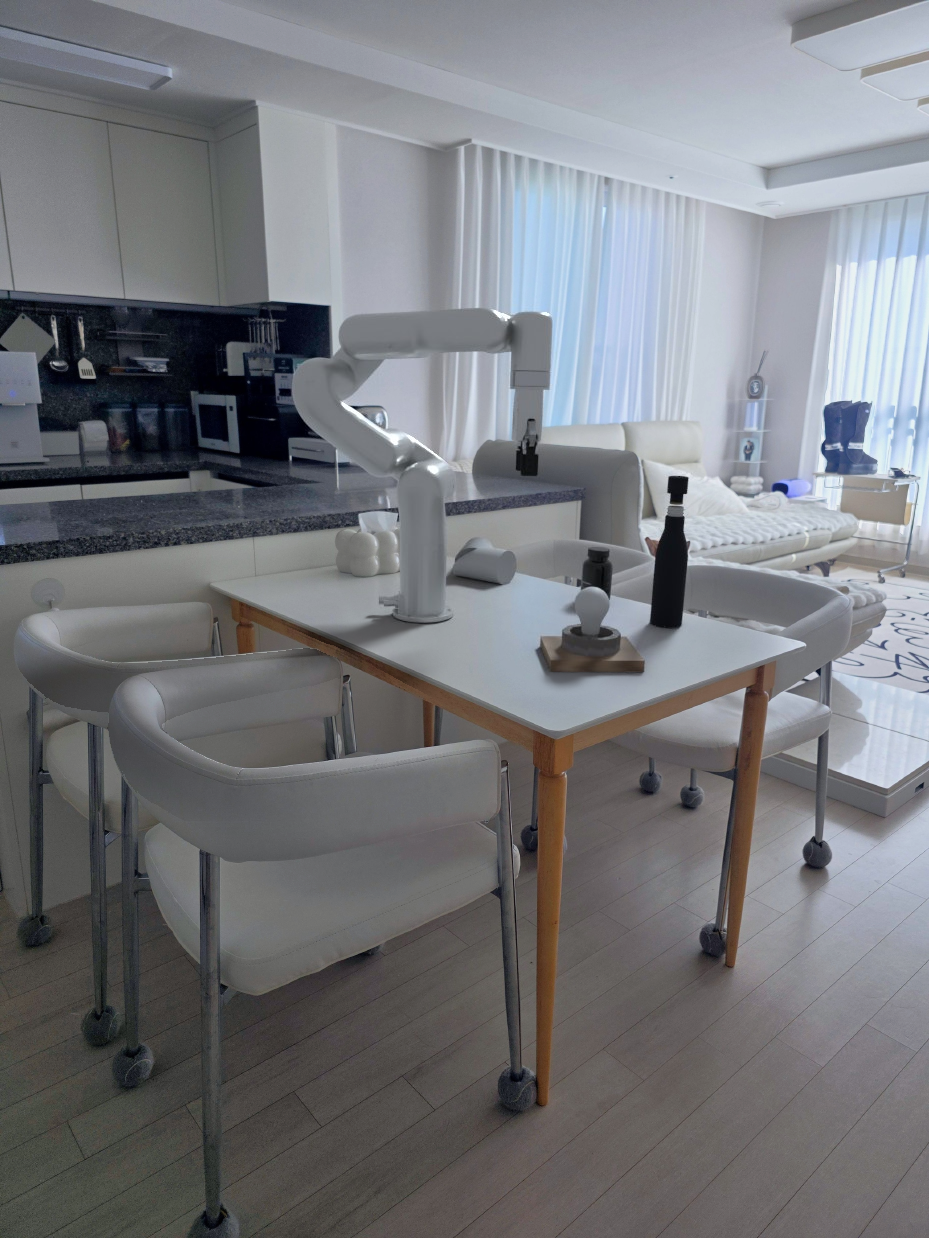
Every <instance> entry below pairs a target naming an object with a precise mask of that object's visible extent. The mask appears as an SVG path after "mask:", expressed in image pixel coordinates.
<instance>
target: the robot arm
mask: <svg viewBox="0 0 929 1238" xmlns="http://www.w3.org/2000/svg"><path fill="white" fill-rule="evenodd" d="M552 341H553V317H552V316H551V314H549V313H547V312H544V311H533V310H532V311H530V310H529V311H520V312H517V313H515V314H509V313H508V314H507V313H502V312H499V311H497V310H496V309H494V308H489V307H469V308H451V309H450V308H447V309H437V310H419V311H418V310H416V311H413V310H412V311H399V312H397V311H395V312H376V313H375V312H374V313H359V314H354V315H351V316H348V317H347V318H345V319H344V320H343V322H342V323H341V325H340V327H339V330H338V342H339V345H340V347H339V349H338V350H337V351H336V352H335V353H334V354H333V355H332V357H331V358H327V357H313V358H309V359H307V360H305V361H303V362H302V363H300V365H298V367H297V368H296V369H295V371H294V374H293V377H292V381H291V382H292V384H291V391H292V400H293V403H294V406H295V409H296V411H297V413H298V414H299V416H300V417H301V419H302V420H303V422H304V423H305V424H306V425H307V426H308V427H309V428H310V429H311V430H312V431H313V432H315V433H316V434H317V435H319V436H320V437H321V438H322V439H324V440H325V441H326V442H328V443H329V444H330V445H331V446H333V447H335V448H336V449H337V450H338V451H339V452H340V453H342V454H343V455H344V456H346V457H347V458H348V459H349V460H351V461H353V462H354V463H356V465H358V466H359V467H360V468H362V469H363V470H364V471H365V472H367V473H368V474H370V475H371V476H373V477H375V478H387V477H391V478H393V479H394V480H395V481H397V485H396V500H397V509H398V517H399V591H398V594H395V593H394V594H393V595H378V605H380V606H383V607H394V608H393V609H392V616H393V617H394V618H395V619H398V620H401V621H403V622H410V623H421V624H422V623H427V624H428V623H438V622H443V621H447V620H449V619H450V618H453V615H454V609H453V608H452V607H450V606H448V605H447V544H448V543H447V515H446V502H447V501H448V500H449V499H450V498H451V497H452V496H453V494H454V493H455V491H456V488H457V476H456V474H455V471H454V470H453V468H452V467H451V465H450V464H448V462H446V461H445V459H443V458H441V456H439V455H438V454H436V453H434V452H433V451H432V450H430V449H429V448H428V447H427V446H426V445H424V444H422V443H421V442H420V441H419V440H417V439H416V438H414V437H413V436H411V435H410V434H408V433H407V432H405V431H403V430H401V429H397V428H382V427H380V426H379V425H377V424H375V422H372V421H371V420H370V419H369V418H367V417H366V416H364V415H363V414H362V413H361V412H359V411H358V410H356V409H355V408H353V407H352V406H350V405H348V404H347V403H345V402H344V401H346V400H347V399H349V398H350V397H351V396H354V394H355V393H356V392H357V391H358V390H359V389H360V388H361V386H363V384H365V382H366V381H367V380H369V378H370V377H371V376H372V375H373V374H374V372H375V371H377V369H379V367H380V366H381V365H382V364H383V362H384V361H385V360H399V359H400V360H401V359H423V358H424V359H425V358H427V357H430V356H432V355H436V354H447V353H465V352H466V353H467V352H468V353H469V352H472V353H473V352H481V353H482V352H483V353H487V354H492V355H493V354H502V353H510V373H509V376H510V377H509V389H510V390H514V394H513V395H514V397H513V406H512V407H513V408H512V409H513V410H512V424H511V427H512V429H511V440H512V442H514V443H515V444H517V445H516V446H517V447H516V450H515V451H516V453H515V470H516V471H517V472H518V471H519V472H520V476H522V477H537V476H538V474H539V443H540V442H541V440H542V439H541V438H542V432H543V431H542V430H543V416H544V414H543V412H544V390H545V391H548V390H550V389H551V388H550V384H551V369H552V368H551V366H552V365H551V364H552V363H551V361H552Z"/></svg>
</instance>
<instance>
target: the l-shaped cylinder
mask: <svg viewBox="0 0 929 1238" xmlns="http://www.w3.org/2000/svg"><path fill="white" fill-rule="evenodd" d="M516 571H517V557H516V555H515V553H514V552H513V551H511V550H510V549H508V550H507V549H502V548H495V547H494V546H493V544H492V542H490V541H489V539H487V538H485V537H480V536H475V537H472V538H470V539H469V540H468V541H467V542H466V543H465V544H464V545H463V547H462V548H461V549H460V550H459V552H458V553H457V554H456V555H455V558H454V563H453V565H452V568H451V572H452V574H453V575H454V576H458V577H463V578H468V579H471V580H478V581H485V582H489V583H494V584H499V585H506V584H509V583H510V582H511V581H513V579H514V577H515V575H516Z"/></svg>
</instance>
